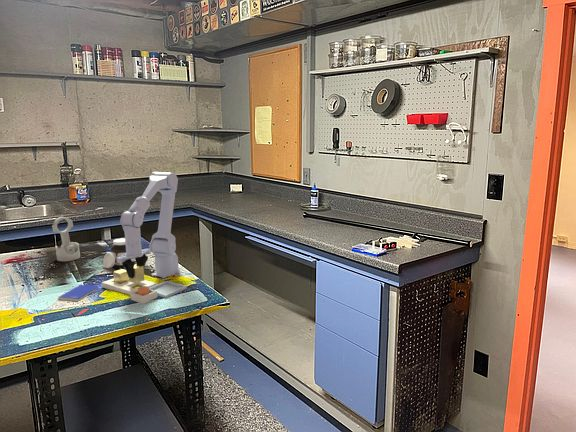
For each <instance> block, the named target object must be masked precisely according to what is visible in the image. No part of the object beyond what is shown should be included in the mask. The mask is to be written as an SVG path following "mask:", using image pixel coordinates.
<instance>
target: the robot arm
mask: <svg viewBox="0 0 576 432" xmlns="http://www.w3.org/2000/svg"><path fill="white" fill-rule="evenodd" d="M148 180H149V183H148V184H147V187H146V188H145V190H144V191H143V193H142V195H141V196H138V197H136V198H135V200H134V202H133V203H132V204H131V206H130V207H129V208H128V210H126V211H123V213H122V214H121V215H120V220H119V223H120V225H121V226H122V230H123V232H124V238H125V244H126V254H124V255H122V256H120V257H118V258H117V263H120V264H121V263H122V264H123V266H124V267H123V268H124V270H126V271H127V274H128V277H129V278H133V277H134V265H135V264H138V265H142V266H143V267H144V268H145V266H146V264H147V261H148V260H149V256H147V255H151V254H152V256H154V263H155V265H154V266H155V272H153V273H151V276H156V277H160V278H164V279H165V278H167V277H169V276H170V277H171V276H173V275H175V274H178V273H181V270H179V257H178V255H177V253H176V249H177V245H176V237H175V235H173V234H172V231H171V230H172V222H173V215H174V214H173V213H174V209H175V208H174V206H175V198H176V193H177V192H178V183H179V178H178V176H177V174H176V173H175V172H167V171H165V172H164V171H163V172H162V171H152V172H151V175H150V176H149V177H148ZM158 192H159V193H160V194H161V203H160V211H159V217H158V227H157V231H156V232H155V233H153V234H152V235H151V241H150V242H149V245H148V246H149V248H143V249H142V237H141V235H142V234H141V226H142V225H143V223H144V217H145V214H146V212H147V211H148V210H149V209H150V206H151V202H150V201H151V200H152V199H153V197H154V196H155V195H156V194H157V193H158ZM134 258H135V259H134ZM131 259H134V262H132V260H131Z"/></svg>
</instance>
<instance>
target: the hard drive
mask: <svg viewBox="0 0 576 432" xmlns="http://www.w3.org/2000/svg"><path fill="white" fill-rule="evenodd" d="M98 289H99V286H98V285H90V284H89V285H88V284H87V285H86V284H79V285H77V286H76V287H74V288H72V289H70V290H69V291H67V292H65V293H63V294H62V295H60V296H58V299H57V300H62V301H63V300H64V301H71V302H72V301H74V302H76V301H77V302H79V301H80V300H82V299H84V298H85V297H87V296H88V295H90V294H92V293H93V292H94V291H96V290H98Z"/></svg>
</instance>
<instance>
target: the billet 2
mask: <svg viewBox="0 0 576 432" xmlns="http://www.w3.org/2000/svg"><path fill="white" fill-rule="evenodd" d="M144 270H145V267H143V266H142V265H138V264H137V263H135V264H134V277H133V278H129V282H133V283H139V282H141V281H144V280H145V271H144Z"/></svg>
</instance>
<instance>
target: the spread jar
mask: <svg viewBox="0 0 576 432" xmlns="http://www.w3.org/2000/svg"><path fill="white" fill-rule="evenodd" d="M112 242H113V245H112V246H110V248H109V249H110V250H109V252H107V253H106V254H104V256H103V259H102V260H103V261H102V262H103V267H104V268H106V269H111V268H113V267H114V266H115V267H118V268H125V267H124V266H123V264H122V263H121V264H120V263H117V258H118V257H120V256H122V255H124V254H126V244H125V237H121V238H115V239H113V241H112ZM131 260H132V262H135V258H134V259H131Z"/></svg>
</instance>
